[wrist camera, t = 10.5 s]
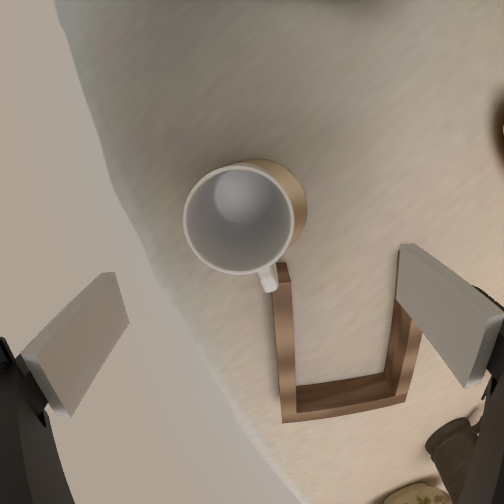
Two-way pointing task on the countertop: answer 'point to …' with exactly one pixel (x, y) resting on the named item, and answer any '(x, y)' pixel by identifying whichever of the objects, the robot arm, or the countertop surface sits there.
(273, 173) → the coaster
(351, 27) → the countertop surface
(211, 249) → the mug
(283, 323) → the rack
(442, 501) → the pitcher
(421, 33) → the countertop surface
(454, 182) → the countertop surface
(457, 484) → the beer stein
